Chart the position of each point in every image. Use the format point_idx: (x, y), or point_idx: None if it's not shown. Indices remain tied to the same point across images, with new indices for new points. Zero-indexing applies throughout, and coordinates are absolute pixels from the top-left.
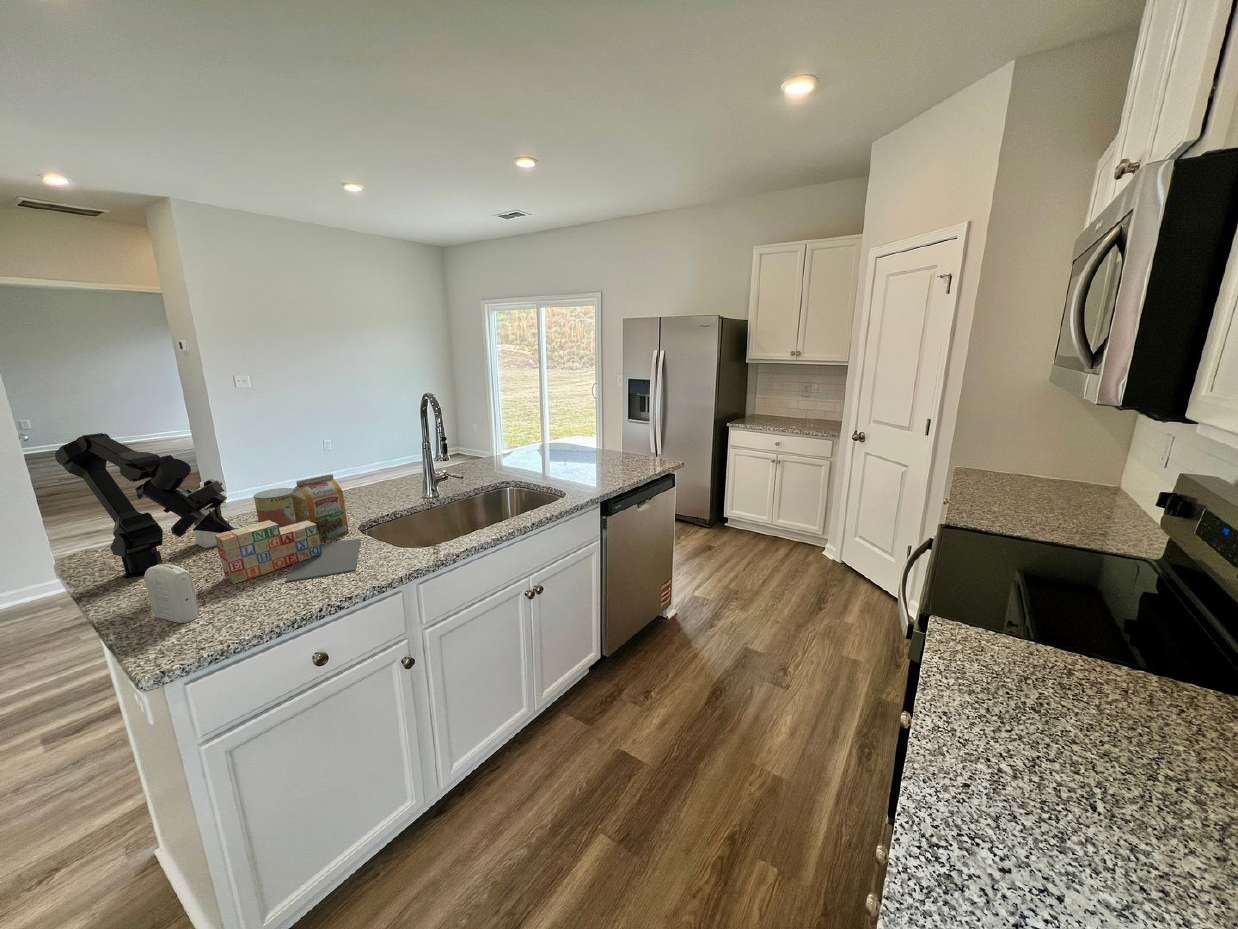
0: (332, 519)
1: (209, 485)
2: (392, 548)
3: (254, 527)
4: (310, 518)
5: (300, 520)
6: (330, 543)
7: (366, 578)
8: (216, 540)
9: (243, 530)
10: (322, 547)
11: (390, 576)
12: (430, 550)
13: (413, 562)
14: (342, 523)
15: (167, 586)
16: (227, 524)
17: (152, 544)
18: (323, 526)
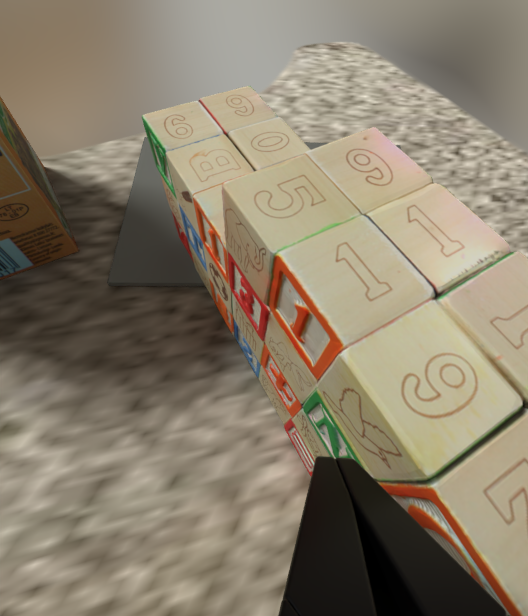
0: (10, 124)
1: None
2: (268, 93)
3: (401, 246)
4: (6, 147)
5: None
6: (136, 199)
7: (450, 134)
8: None
9: (478, 313)
10: (165, 217)
11: (447, 103)
12: (316, 51)
13: (377, 74)
14: (21, 133)
15: None
16: (343, 537)
17: None
18: (33, 169)
